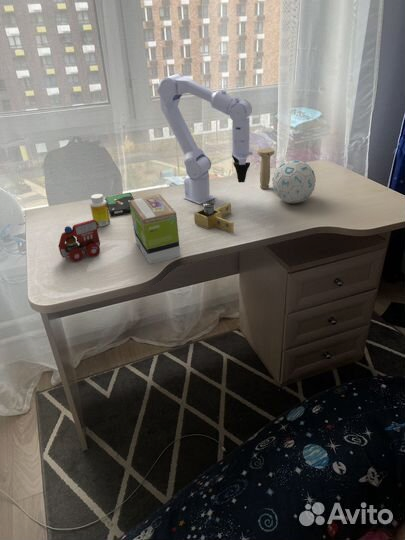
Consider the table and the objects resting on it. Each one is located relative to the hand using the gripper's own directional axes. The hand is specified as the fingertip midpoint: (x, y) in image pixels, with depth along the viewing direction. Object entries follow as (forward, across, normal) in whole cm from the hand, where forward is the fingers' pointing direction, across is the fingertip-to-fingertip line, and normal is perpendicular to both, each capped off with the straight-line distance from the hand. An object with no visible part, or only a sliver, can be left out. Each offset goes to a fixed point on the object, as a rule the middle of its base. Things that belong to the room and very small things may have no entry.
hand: (240, 178), depth 145 cm
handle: (+10, +15, -11) cm, 21 cm away
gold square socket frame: (+10, -15, +6) cm, 19 cm away
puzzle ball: (+10, +1, -19) cm, 22 cm away
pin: (+10, -15, +12) cm, 21 cm away
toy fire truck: (+10, -33, +50) cm, 61 cm away
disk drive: (+11, +2, +44) cm, 46 cm away
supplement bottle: (+10, -12, +49) cm, 51 cm away
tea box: (+10, -32, +28) cm, 43 cm away
